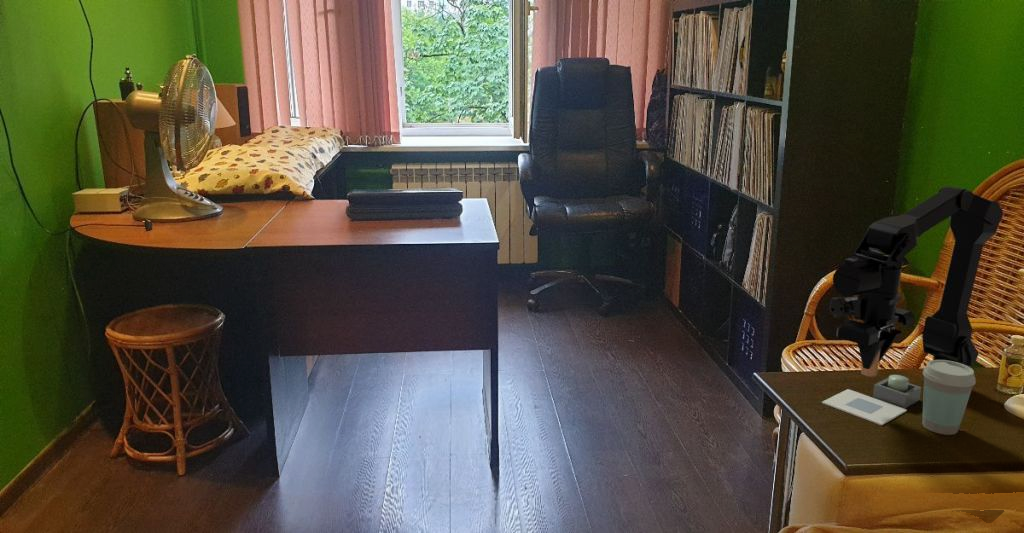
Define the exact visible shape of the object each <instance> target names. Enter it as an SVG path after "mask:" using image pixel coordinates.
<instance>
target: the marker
mask: <svg viewBox="0 0 1024 533" xmlns="http://www.w3.org/2000/svg"><path fill="white" fill-rule="evenodd" d="M880 350H881V349H880ZM879 357H880V351H879V353H878V354H877V356H876V358H875V360H874V362H873V364H872V365H871V367H870V368H869V369H865V368H863V365H862V364H861V370H860V373H861V375H863V376H866V377H877V375H878V370H879V364H880V362H879Z"/></svg>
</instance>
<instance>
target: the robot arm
mask: <svg viewBox="0 0 1024 533" xmlns="http://www.w3.org/2000/svg"><path fill="white" fill-rule="evenodd" d="M1003 215H1004V212H1003V208H1002V207H1001V206H1000V203H999V202H998V201H995V200H991V199H987V198H984V197H981V196H979V195H977V194H975V193H974V192H972V190H971V191H970V190H968V189H967V188H963V187H962V188H961V187H956V186H950V185H948V186H943V187H940V189H939V190H938V192H937V193H936V194H934V195H932V196H930V197H928V198H927V199H926V200H924V201H922V202H921V203H919V204H918V205H916V206H914V207H912V208H910V210H908V211H906V212H905V213H903V214H900V215H897V216H895V215H894V216H888V217H884V218H881V219H879V220H876V221H874V222H872V223H871V224H870V225H869V226H868V228H867V229H866V231H865V233H864V234H863V236H862V237H861V239H860V241H859V242H858V244H857V245H856V247H855V249H854V250H853V252H852V254H851V258H850V257H849V258H845V259H844V264H843V265H841V266H839V267H837V269H836V270H835V271H834V273H833V275H832V283H833V284H832V285H833V286H834V288H835V290H836V292H837V293H838V294H839V295H841V297H833V298H831V299H830V302H829V307H828V311H829V312H830V313H831V314H832V315H833V317H834V318H835V319H839V318H841V317H851V316H853V319H850V320H848V321H845V322H843V323H841V324H840V325H837V327H836V337H837V338H839V339H841V340H845V341H849V342H852V343H855V344H857V347H858V350H859V355H860V359H861V366H862V365H863V368H865V369H869V368H870V367H871V365H872V364H873V362H874V360H875V358H876V356H877V354H878V353H879V351H880V357H879V363H880V362H881V361H882V359H883V358H884V356H885V355H886V354H887V352H888V351H889V350H890V348H891V347H892V346H893V345H894V343H895V342H896V341H897V339H898V338H899V337H900V335H902V333H903V330H902V331H901V330H899V329H896V326H895V324H896V323H900V324H902V326H903V328H904V329H909V328H912V327H913V326H914V323H915V314H913V312H912V311H911V310H908V309H903V308H900V307H897V303H899V302H901V301H902V299H903V295H901V294H899V290H900V282H901V277H902V271H903V267H907V266H910V264H911V262H910V260H909V259H908V258H907V257H906V256H907V255H909V253H910V252H911V251H912V250H913V249H914V248H915V247H917V246H918V243H919V238H920V237H921V236H922V235H923V234H925V233H926V232H928V231H930V230H931V229H933V228H934V227H936V226H937V225H938V224H940V223H942V222H944V221H945V220H947V219H948V218H950V219H949V228H950V229H951V230H950V231H951V234H952V235H953V238H954V245H953V248H952V252H951V256H950V257H951V258H950V261H949V262H950V263H949V265H948V269H947V275H946V278H945V283H944V288H943V291H942V295H941V296H942V297H941V300H940V304H939V308H938V309H937V310H936V312H934V313H933V314H932V315H928V316H926V318H925V320H924V326H923V329H922V330H921V331H922V332H921V335H922V336H921V339H922V340H921V341H922V348H923V349H922V350H923V353H924V354H927V355H928V354H929V355H930V356H932V360H947V361H953V362H958V363H961V364H964V365H966V366H968V367H973V364H975V363H976V361H977V359H978V356H979V354H980V353H979V351H978V349H977V348H976V346H975V344H974V343H973V341H972V336H973V326H972V324H971V321H970V319H969V316H968V309H969V305H970V302H971V297H972V294H973V289H974V284H975V280H976V276H977V273H978V268H979V264H980V260H981V256H982V252H983V248H984V245H985V243H987V242H988V241H989V240H990V239H991V238H992V237H993V236H995V234H996V233H997V230H998V228H999V225H1000V223H1001V221H1002V220H1003ZM880 349H881V350H880ZM921 383H922V384H923V385H924V379H923V380H922V382H921Z"/></svg>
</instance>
